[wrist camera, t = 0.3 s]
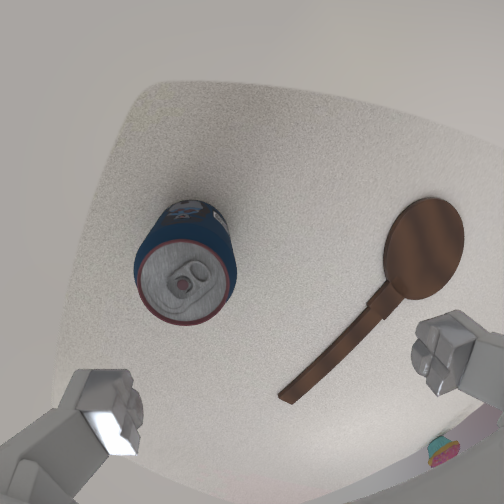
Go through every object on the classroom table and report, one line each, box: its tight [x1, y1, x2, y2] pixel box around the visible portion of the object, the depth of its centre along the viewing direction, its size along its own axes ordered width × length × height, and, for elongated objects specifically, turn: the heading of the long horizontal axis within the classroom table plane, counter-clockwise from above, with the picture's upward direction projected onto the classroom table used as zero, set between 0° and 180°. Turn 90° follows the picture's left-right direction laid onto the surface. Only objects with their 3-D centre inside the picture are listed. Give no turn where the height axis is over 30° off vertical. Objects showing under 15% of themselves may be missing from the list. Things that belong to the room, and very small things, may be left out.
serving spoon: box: [278, 198, 464, 405], centre depth 35 cm, size 33×13×1 cm, turn 139°
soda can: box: [134, 200, 237, 326], centre depth 24 cm, size 7×7×12 cm
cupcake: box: [428, 436, 460, 468], centre depth 47 cm, size 9×8×12 cm
